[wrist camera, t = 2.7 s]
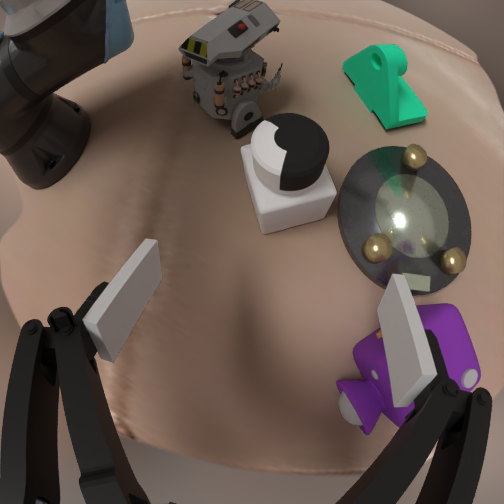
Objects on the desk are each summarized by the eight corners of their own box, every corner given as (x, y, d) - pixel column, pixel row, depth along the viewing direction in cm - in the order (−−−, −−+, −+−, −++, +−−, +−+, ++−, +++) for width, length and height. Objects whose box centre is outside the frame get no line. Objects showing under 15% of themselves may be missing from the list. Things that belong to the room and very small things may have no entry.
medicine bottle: (304, 163, 33) (317, 96, 21) (324, 219, 31) (352, 168, 20) (245, 178, 33) (233, 113, 21) (262, 236, 31) (256, 190, 20)
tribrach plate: (330, 286, 30) (337, 282, 26) (340, 139, 33) (345, 123, 30) (464, 301, 28) (480, 299, 25) (458, 169, 32) (471, 158, 28)
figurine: (297, 103, 35) (306, 13, 20) (226, 147, 34) (202, 56, 19) (255, 69, 36) (248, -14, 22) (188, 107, 36) (156, 24, 21)
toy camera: (309, 375, 28) (326, 403, 18) (401, 290, 29) (450, 280, 19) (364, 438, 26) (396, 478, 16) (448, 356, 27) (500, 366, 17)
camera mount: (423, 125, 33) (453, 81, 23) (383, 133, 33) (411, 84, 23) (380, 68, 36) (397, 22, 26) (341, 73, 36) (353, 22, 26)
